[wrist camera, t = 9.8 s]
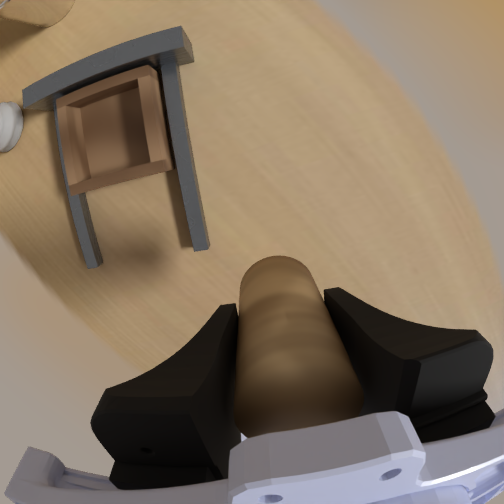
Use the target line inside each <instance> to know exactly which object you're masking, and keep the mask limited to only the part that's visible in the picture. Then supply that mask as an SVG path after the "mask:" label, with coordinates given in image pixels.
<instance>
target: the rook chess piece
mask: <svg viewBox="0 0 504 504" xmlns="http://www.w3.org/2000/svg"><path fill="white" fill-rule="evenodd" d="M23 120H24V119H23V115H22V111H21V109H20V107H19V106H18V105H17V103H14V102H8V103H6V102H2V103H0V151H1V152H6V151H9V150H10V149H12V148H13V147H14V146H15V145H16V143H17V141H18V140H19V138H20V136H21V133H22V130H23Z"/></svg>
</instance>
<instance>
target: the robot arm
mask: <svg viewBox="0 0 504 504" xmlns="http://www.w3.org/2000/svg"><path fill="white" fill-rule="evenodd" d="M324 303H325V305H326V307H327V309H328V311H329V314H330V316H331V318H332V320H333V322H334V325H335V327H336V329H337V331H338V334H339V336H340V338H341V340H342V343H343V345H344V347H345V349H346V352H347V354H348V356H349V359H350V361H351V363H352V366H353V368H354V370H355V373H356V375H357V377H358V380H359V382H360V384H361V387H362V389H363V393H364V403H363V407H362V410H361V412H360V414H359V415H358V417H356V418H352V419H347V420H343V421H338V422H334V423H329V424H324V425H318V426H313V427H307V428H301V429H294V430H288V431H280V432H272V433H267V434H263V435H259V436H255V437H251V438H247V437H245V436H244V435H243V434H242V433H241V432H240V431H239V429H238V428H237V426H236V424H235V422H234V417H233V410H234V390H235V370H236V352H237V333H238V313H237V308H236V303H233V304H226V305H220V306H219V308H218V309H217V310H216V311H215V312H214V314H213V315H212V316H211V318H210V319H209V320H208V321H207V322H206V324H205V325H204V326H203V327H202V328H201V330H200V331H199V332H198V333H197V334H196V335H195V336H194V337H193V338H192V339H191V340H190V341H189V342H188V343H187V344H186V345H185V346H184V347H182V348H181V349H180V350H179V351H178V352H176V353H175V354H174V355H173V356H171V357H170V358H168V359H167V360H165V361H164V362H162V363H161V364H159V365H158V366H156V367H155V368H153V369H151V370H149V371H148V372H146V373H144V374H142V375H140V376H138V377H136V378H134V379H132V380H129V381H126V382H124V383H121V384H119V385H116V386H113V387H110V388H107V389H106V390H105V391H104V393H103V395H102V397H101V399H100V401H99V404H98V405H97V407H96V410H95V412H94V414H93V416H92V419H91V427H92V430H93V432H94V434H95V436H96V437H97V439H98V440H99V441H100V443H101V444H102V445H103V447H104V448H105V449H106V450H107V452H108V453H109V454H110V455H111V456H112V458H113V459H114V460H115V462H114V465H113V468H112V471H111V474H110V477H107V476H102V475H97V474H92V473H87V472H83V471H78V470H74V469H70V468H66V467H65V466H64V464H63V463H62V462H61V461H60V460H59V459H58V458H57V457H56V456H54V455H53V454H51V453H49V452H46V451H42V450H39V449H36V448H33V447H28V448H27V450H26V452H25V454H24V456H23V457H22V459H21V461H20V463H19V465H18V467H17V469H16V471H15V473H14V474H13V477H12V478H11V481H10V482H9V485H8V486H7V489H6V491H5V496H7V497H8V498H9V499H10V500H11V501H13V502H14V503H15V504H485V503H486V502H488V501H489V500H491V499H492V498H494V497H495V496H497V495H498V494H499V493H501V492H502V491H504V409H502V410H500V411H499V412H497V413H495V414H494V413H493V411H492V410H491V409H490V407H489V406H488V404H487V403H486V402H485V400H487V397H488V396H487V393H486V392H485V391H484V389H483V386H484V384H485V382H486V379H487V376H488V374H489V371H490V369H491V365H492V361H493V348H492V346H491V344H490V343H489V342H488V341H487V340H486V339H485V338H484V337H483V336H482V335H481V334H480V333H479V332H478V331H477V330H464V329H446V328H438V327H432V326H427V325H422V324H418V323H414V322H410V321H407V320H404V319H401V318H398V317H395V316H392V315H390V314H388V313H385V312H383V311H381V310H379V309H377V308H375V307H373V306H371V305H369V304H367V303H365V302H363V301H362V300H360V299H358V298H356V297H355V296H353V295H351V294H350V293H348V292H346V291H345V290H343V289H341V288H339V287H336V288H331V289H325V290H324Z"/></svg>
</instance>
